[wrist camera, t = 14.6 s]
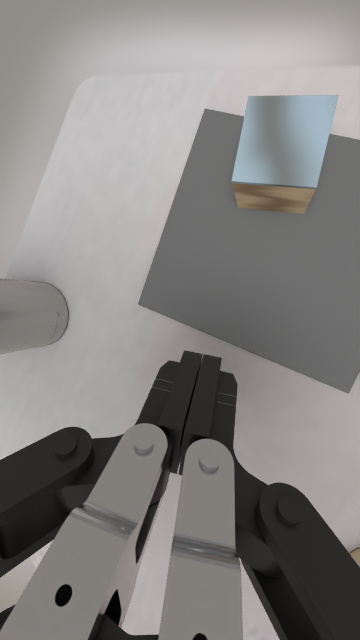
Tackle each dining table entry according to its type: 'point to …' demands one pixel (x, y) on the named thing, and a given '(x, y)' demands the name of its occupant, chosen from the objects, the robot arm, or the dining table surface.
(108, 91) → the dining table surface
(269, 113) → the cube
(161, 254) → the mat
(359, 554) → the candle
